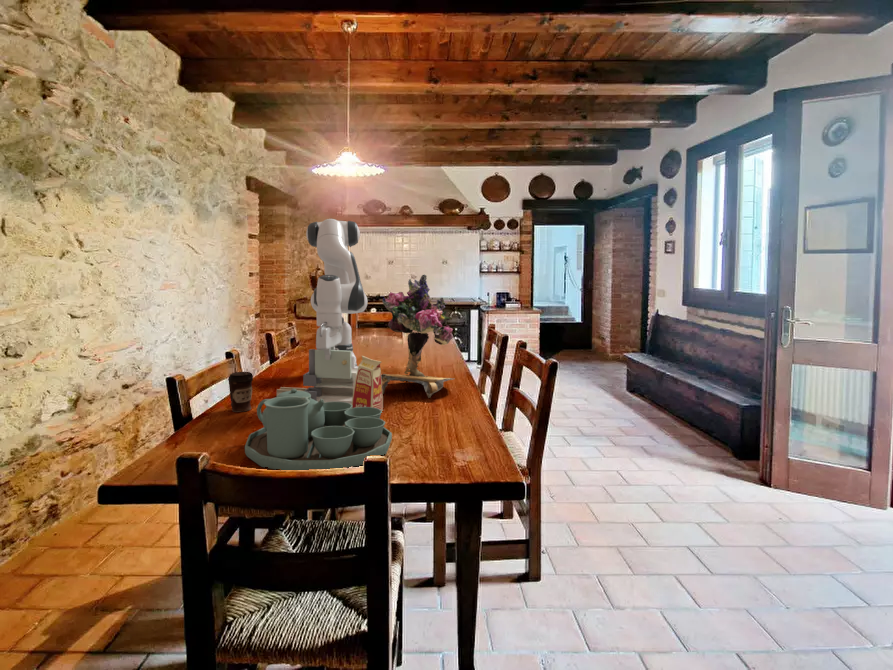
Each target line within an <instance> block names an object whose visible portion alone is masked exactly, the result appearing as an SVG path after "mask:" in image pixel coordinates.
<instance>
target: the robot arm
mask: <svg viewBox="0 0 893 670" xmlns="http://www.w3.org/2000/svg"><path fill="white" fill-rule="evenodd" d="M305 235H306V236H305V237H306V240H307V241H308V244H309V245H310V246H311V247H313V248H314V247H315V248H316V251H317V252H316V253H317V256H318V257H319V259H320V260H321V261H322V262H323V266H324V268H323V269H324V275H321V276H319V277H318V278H317V285H316V287H315V288H314V289H313V293H312V294H311V297H310V305H311V307H312V309H313V310H314V311H315V312H316V326H317V327H318V328H317V329H316V333H315V334H316V337H315V338H316V339H315V348H316V350H324V353H325V359H326V360H330V359H331V354H330V350H343V351H351V368H358V366H359V365H358V364H357V357H356V355H355V353H354V342H352V338H353V337H352V331H353V330H352V326H351V325H350V324H349V323H348V322H347V321H345V319H344V317H343V316H342V315H343V314H351V315H352V314H359V313H363V312H365V310H366V309H367V306H368V297H367V294H366V293H365V290H364V288H363V287H364V286H363V284H362V281H361V278H360V277H361V276H360V272H359V268H358V265H357V261H356V258H355V255H354V253H353V252H351V250H349V248H352V247H354V246H356V245H357V244H358V243H359V240H360V237H361V231H360V227H359V226H358V223H356V221H354V220H353V221H352V220H347V221H345V220H337V219H334V218H327V219H324V220H323V221H313V222H310V223H309V225H307V228H306V232H305Z"/></svg>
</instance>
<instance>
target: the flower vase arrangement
mask: <svg viewBox="0 0 893 670" xmlns="http://www.w3.org/2000/svg"><path fill="white" fill-rule="evenodd" d="M407 281H408V283H407V284H408V289H409V290H408V291H407V292H406V294H407V295H404V291H403V292H402V291H399V292H397V293H395V292H392V291H391V292H389V293H388V298H385V297H383V298H382V304H383V306H384V307H385V308H386V310H388V311H389V312H390V313H391V315H392V317H391V319H390V321H389V322H388V324H387V325H388V327H389V329H390V330H391V331H393V332H395V333H402V334H403V333H404V334H407V348H408V360H407V364H406V367H405V371H404V374H387V373H381V379H382V395H383V394H385V389H386V387H387V386H388V385H389V383H390V382H391V381H392V382H393V381H396V382H397V381H399V382H404V381H408V382H407V383H411V382H412V383H416V384H421V385H422V386H423V388H424V391H425V393H426V396H427V398H428V399H429V398H430V399H431V397H432V396H433V395H434V394H435V393H437V392H439V391H440V390H442V389H443V388H444V383H445V382H447V381H448V382H449V381H453V380H454V378H452V377H441V376H440V377H435V376H431V375H430V376H429V375H425V374H424V373H423V372H421V371H419V369H418V367H419V365H418V364H420V362H421V361H422V352H423V348H424V347H425V345H426V344H427V343H428V340H429V339H430V336H429V333H430V332H433V334H434V335H433V336H434V337H433V338H434V339H433V340H434V342H435V343H436V344H437V345H441V346H446V345H447V344H449V343H450V341H451V340H452V339H453V338H454V334H453V330H454V329H453V328H451V327H450V326H449V325H446V326H445V325H443V324H444V323H446V322H448V321H450V320H452V319H453V318H452V317H448V316H446V314H447V311H443V310H444V309H445V308H446V306H445V305H447V302H445V299H444V297H440V298H439V299H437V300H436V301H437V302H436V304H433V303H432V301H431V300H433V299H434V298H433V297H431V300H430V295H429V291H430V290H431V289H430V287H429V286H428V283H427V275H426V274H422V275H421V276H420V279H419V280H418V279H414V280H413V281H414V282H413V281H412V279H411V278H409V279H408V280H407ZM408 374H409V375H408ZM404 383H405V382H404Z"/></svg>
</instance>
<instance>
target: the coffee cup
mask: <svg viewBox="0 0 893 670" xmlns="http://www.w3.org/2000/svg"><path fill="white" fill-rule="evenodd" d="M253 379H254V374H253V373H252V372H251V371H236V372H232V373H230V374H229V376H228V378H227V381H228V388H229V397H230V402H231V403H230V406H231V410H232V412H233V413H234V412H235V413H238V412H239V413H240V412H247V411H251V409H252V405H251V404H252V403H251V401H252V396H253V385H252V384H253V383H252V382H253Z"/></svg>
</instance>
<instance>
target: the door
mask: <svg viewBox="0 0 893 670" xmlns="http://www.w3.org/2000/svg"><path fill="white" fill-rule="evenodd" d="M330 354H331V359H330V360H326V359H325V353H324V350H317V349H315V348H313V349H312V348H311V349H308V372H309V375H316V377H317V378H341V379H351V351H343V350H330Z"/></svg>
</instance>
